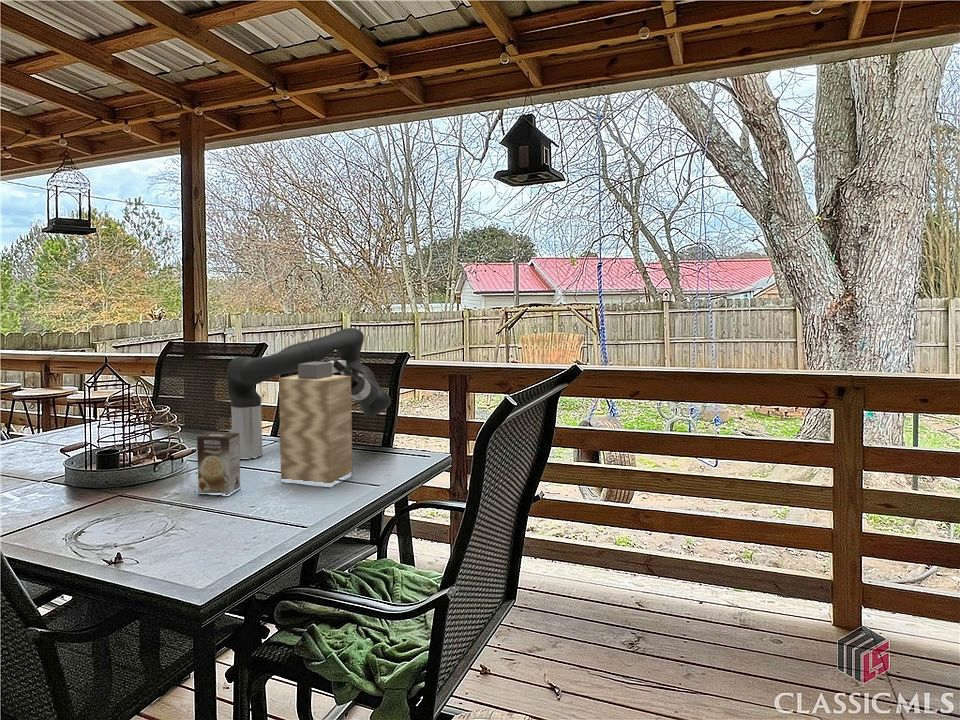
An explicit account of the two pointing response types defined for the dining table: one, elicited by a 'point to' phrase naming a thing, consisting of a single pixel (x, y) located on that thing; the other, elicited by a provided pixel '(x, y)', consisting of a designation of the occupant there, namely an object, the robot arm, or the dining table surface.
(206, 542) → the dining table surface
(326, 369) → the block
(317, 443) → the pedestal
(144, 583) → the dining table surface
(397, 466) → the dining table surface
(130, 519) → the dining table surface
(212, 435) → the coffee box
